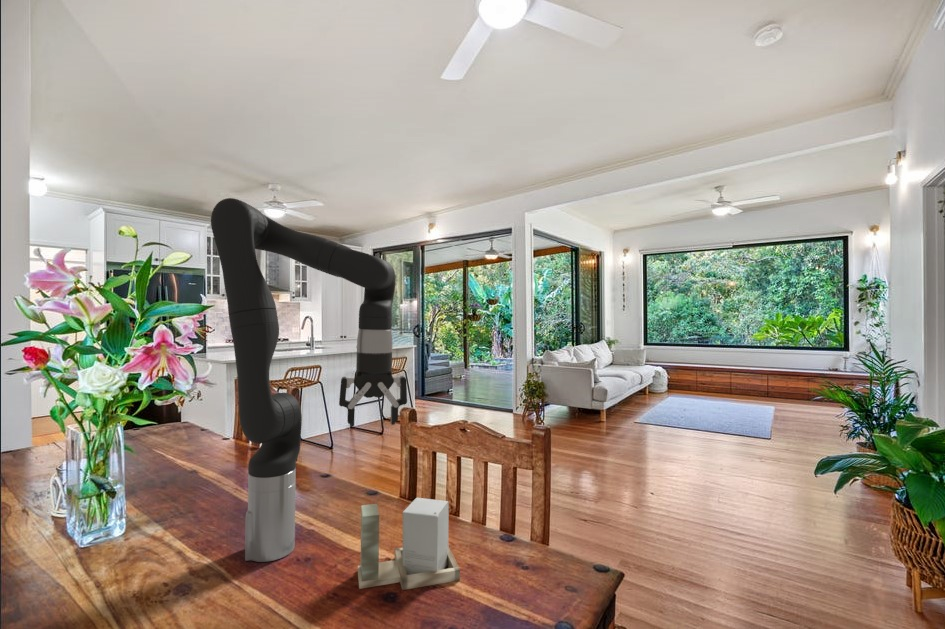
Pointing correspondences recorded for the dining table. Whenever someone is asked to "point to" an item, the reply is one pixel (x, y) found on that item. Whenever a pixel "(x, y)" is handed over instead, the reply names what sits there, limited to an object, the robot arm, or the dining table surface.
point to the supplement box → (425, 536)
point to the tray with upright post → (394, 570)
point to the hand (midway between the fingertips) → (372, 424)
